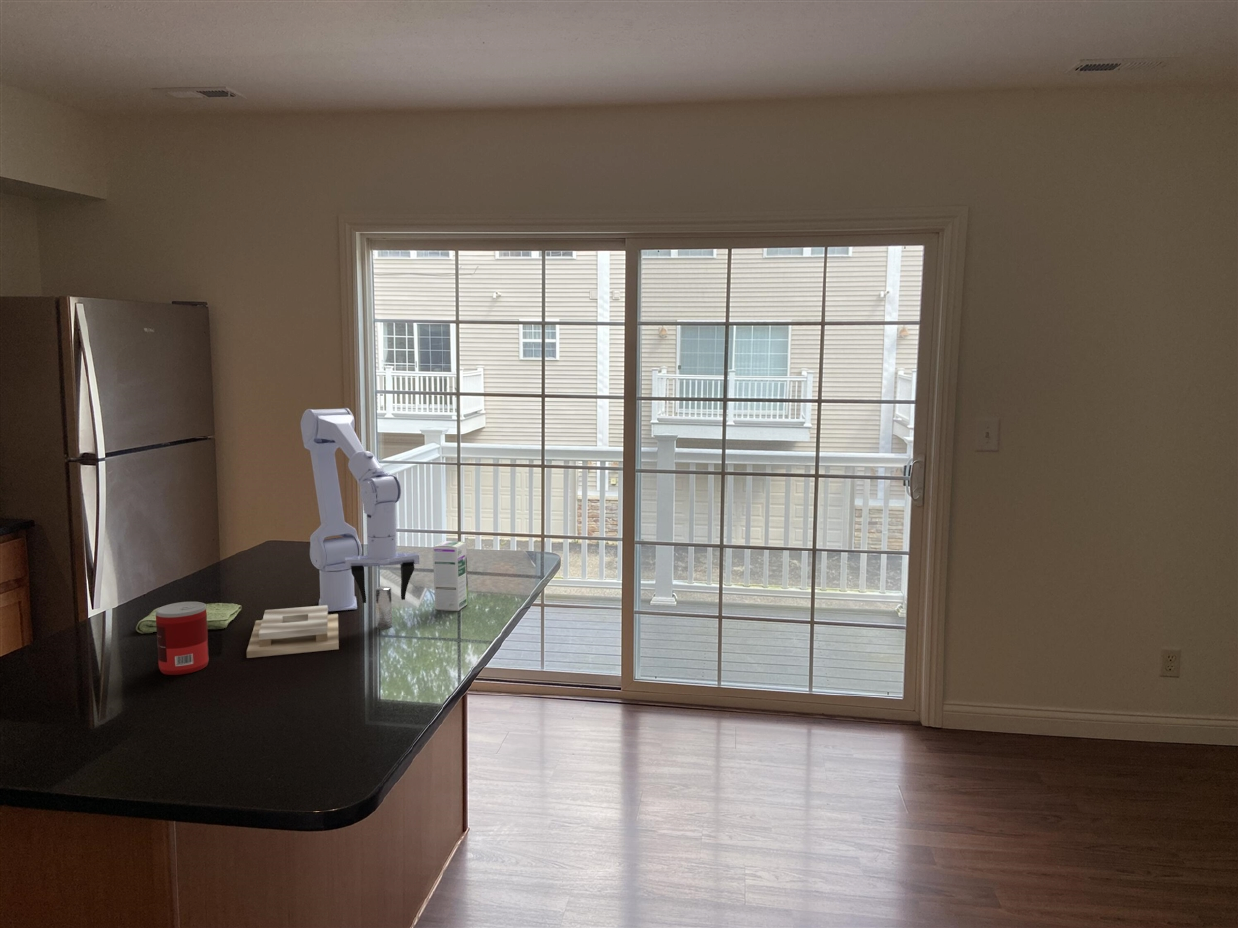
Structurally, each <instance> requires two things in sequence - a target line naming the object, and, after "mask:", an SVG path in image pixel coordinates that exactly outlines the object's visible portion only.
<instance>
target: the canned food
mask: <svg viewBox="0 0 1238 928" xmlns="http://www.w3.org/2000/svg"><path fill="white" fill-rule="evenodd" d="M206 604H207V603H204V602H200V601H181V602H174V603H170V604H166V605H163V606H161V607H157V608H158V609H157V608H156V609H157V610H156V630H157V633H156V642H157V656H158V658H157V659H158V669H159V671H160V672H161V673H162V674H163V675H169V676H179V675H188V674H191V673H195V672H198V671H199V672H200V670H203V669H204V668H206V667H207V666H208V664H209V659H210V658H209V657H210V656H209V655H210V653H209V636H208V635H209V634H208V632H209V631H208V629H207V613H206Z"/></svg>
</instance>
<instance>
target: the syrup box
mask: <svg viewBox="0 0 1238 928" xmlns="http://www.w3.org/2000/svg"><path fill="white" fill-rule="evenodd" d="M467 553H468V552H467V542H466V541H459V540H447V541H445V540H443V541H442V542H440V543H438V544H437V545H434V546H432V558H433V559H432V563H433V565H432V566H433V585H434V586H433V587H434V588H433V589H434V593H433V594H434V609H435V610H438V611H446V612H447V611H450V612H459V611H460V610H462V609H463V608H465V606H467V605H469V587H468V581H469V580H468V560H467V559H468V556H467V555H468V554H467Z"/></svg>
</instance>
